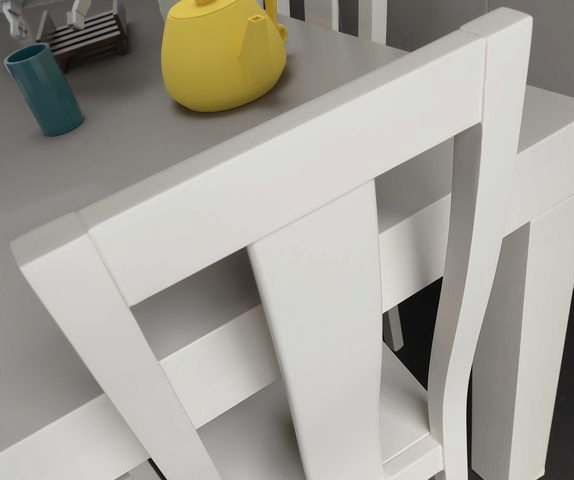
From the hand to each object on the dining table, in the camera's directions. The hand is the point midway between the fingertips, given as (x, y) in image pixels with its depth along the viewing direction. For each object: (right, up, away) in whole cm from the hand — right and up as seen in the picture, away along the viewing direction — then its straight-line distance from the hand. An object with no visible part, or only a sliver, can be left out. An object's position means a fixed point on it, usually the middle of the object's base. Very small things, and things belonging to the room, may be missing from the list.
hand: (46, 33), depth 81 cm
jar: (+19, +6, +14) cm, 24 cm away
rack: (-2, +10, +25) cm, 27 cm away
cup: (+1, -11, +4) cm, 12 cm away
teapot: (+27, -8, -1) cm, 28 cm away
